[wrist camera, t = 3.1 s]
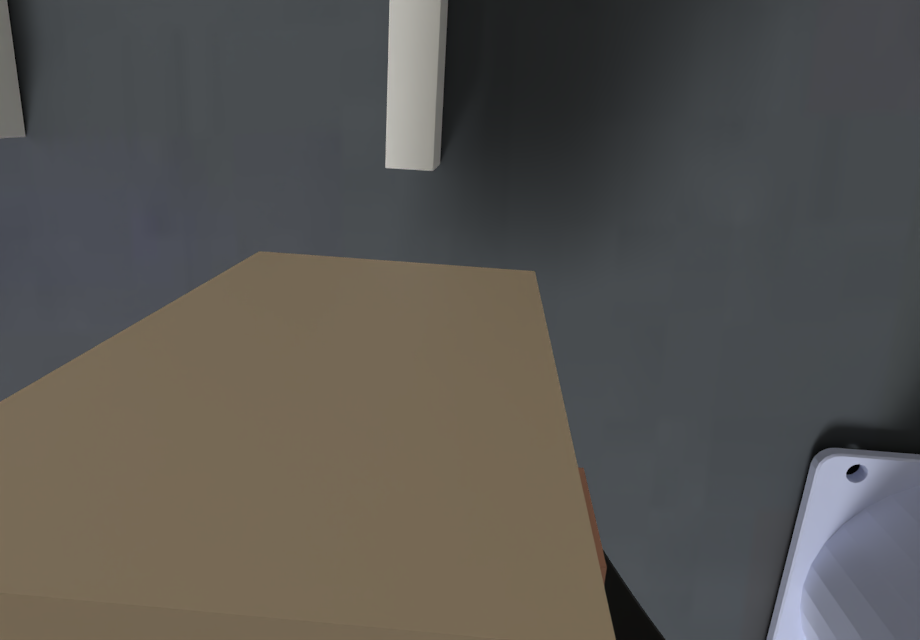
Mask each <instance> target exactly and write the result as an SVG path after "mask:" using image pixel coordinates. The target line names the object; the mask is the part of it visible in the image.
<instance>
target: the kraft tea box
mask: <svg viewBox="0 0 920 640" xmlns="http://www.w3.org/2000/svg"><path fill="white" fill-rule="evenodd" d="M606 569H607V566H606V562H605V558H604V553H603V549H602V545H601V541H600V536H599V532H598V528H597V524H596V519H595V515H594V511H593V507H592V502H591V498H590V494H589V490H588V485H587V481H586V477H585V472H584V468H578V465H577V461H576V456H575V452H574V447H573V443H572V438H571V434H570V429H569V425H568V420H567V415H566V411H565V406H564V402H563V397H562V393H561V388H560V384H559V379H558V375H557V370H556V365H555V361H554V356H553V352H552V347H551V343H550V338H549V334H548V329H547V324H546V320H545V315H544V311H543V306H542V302H541V297H540V293H539V288H538V284H537V279H536V274H535V271H524V270H510V269H496V268H482V267H468V266H455V265H441V264H427V263H413V262H399V261H385V260H371V259H358V258H344V257H330V256H316V255H302V254H288V253H274V252H261V251H259V252H257V253H256V254H254V255H252V256H251V257H249V258H247V259H245V260H244V261H242V262H240V263H239V264H237V265H235V266H233V267H232V268H230V269H228V270H226V271H225V272H223V273H221V274H220V275H218V276H216V277H214V278H213V279H211V280H209V281H208V282H206V283H204V284H202V285H201V286H199V287H197V288H195V289H194V290H192V291H190V292H189V293H187V294H185V295H183V296H182V297H180V298H178V299H177V300H175V301H173V302H171V303H170V304H168V305H166V306H165V307H163V308H161V309H159V310H158V311H156V312H154V313H152V314H151V315H149V316H147V317H146V318H144V319H142V320H140V321H139V322H137V323H135V324H134V325H132V326H130V327H128V328H127V329H125V330H123V331H121V332H120V333H118V334H116V335H115V336H113V337H111V338H109V339H108V340H106V341H104V342H103V343H101V344H99V345H97V346H96V347H94V348H92V349H90V350H89V351H87V352H85V353H84V354H82V355H80V356H78V357H77V358H75V359H73V360H72V361H70V362H68V363H66V364H65V365H63V366H61V367H60V368H58V369H56V370H54V371H53V372H51V373H49V374H47V375H46V376H44V377H42V378H41V379H39V380H37V381H35V382H34V383H32V384H30V385H29V386H27V387H25V388H23V389H22V390H20V391H18V392H16V393H15V394H13V395H11V396H10V397H8V398H6V399H4V400H3V401H1V402H0V640H616V638H615V634H614V629H613V625H612V620H611V615H610V611H609V606H608V602H607V597H606V593H605V588H604V582H605V576H606Z"/></svg>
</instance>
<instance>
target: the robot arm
mask: <svg viewBox="0 0 920 640" xmlns="http://www.w3.org/2000/svg"><path fill="white" fill-rule="evenodd" d="M858 464H860V467H859V468H858V470H857V471H856V472H854V473H853V474H848V475H846V472H847V471H848V469H849V468H850V467H852V466H853V465H858ZM603 553H604V558H605V562H606V566H607V569H606V576H605V582H604V588H605V593H606V597H607V602H608V606H609V611H610V615H611V620H612V625H613V629H614V634H615V638H616V640H665V638H664V637H663V636H662V634H661V633H660V632H659V630H658V629H657V628H656V626H655V625H654V624H653V622H652V621H651V620H650V618H649V617H648V615H647V614H646V613H645V611H644V610H643V608H642V607H641V606H640V604H639V603H638V601H637V600H636V598H635V597H634V596H633V594H632V593H631V591H630V590H629V588H628V587H627V585H626V584H625V582H624V581H623V579H622V578H621V576H620V575H619V573H618V572H617V570H616V569H615V567H614V566H613V564H612V563H611V561H610V560H609V558H608V557H607V555H606V554H605V552H604V550H603ZM766 640H920V454H908V453H896V452H883V451H870V450H858V449H845V448H827V449H825V450H822V451H820V452H819V453H818V454H817V455H815V456H814V458H813V460H812V462H811V464H810V468H809V472H808V476H807V480H806V484H805V488H804V492H803V496H802V500H801V504H800V508H799V512H798V516H797V520H796V524H795V528H794V532H793V536H792V540H791V544H790V548H789V552H788V556H787V560H786V564H785V568H784V572H783V576H782V580H781V584H780V588H779V592H778V596H777V600H776V604H775V608H774V612H773V616H772V620H771V623H770V627H769V631H768V635H767V639H766Z"/></svg>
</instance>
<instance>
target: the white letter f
mask: <svg viewBox="0 0 920 640" xmlns="http://www.w3.org/2000/svg"><path fill="white" fill-rule="evenodd" d="M447 14H448V0H390V7H389V46H388V86H387V126H386V165H385V168H395V169H410V170H425V171H433V170H434V169H435V168H437V167H438V166H439V165H440V154H441V134H442V114H443V94H444V74H445V54H446V34H447ZM12 137H26V136H25V128H24V121H23V114H22V106H21V99H20V91H19V84H18V77H17V69H16V62H15V55H14V47H13V40H12V32H11V25H10V18H9V10H8V3H7V0H0V138H12Z"/></svg>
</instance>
